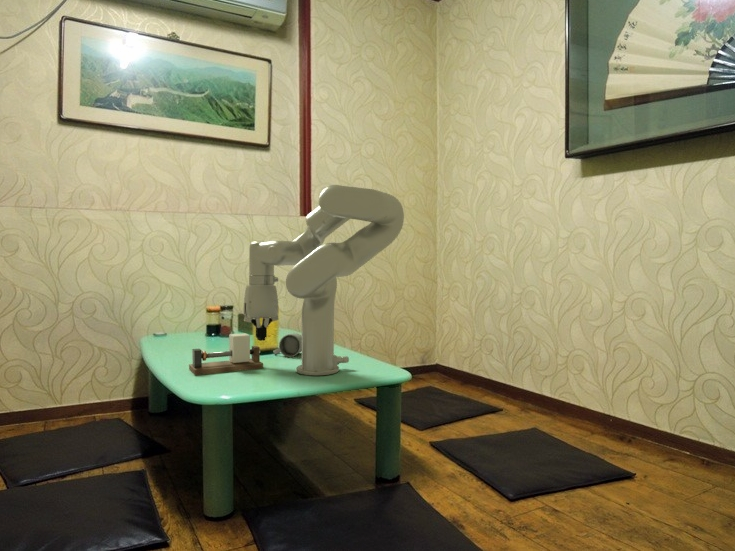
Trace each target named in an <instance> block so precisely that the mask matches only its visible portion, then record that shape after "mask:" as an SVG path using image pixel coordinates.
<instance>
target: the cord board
mask: <svg viewBox="0 0 735 551" xmlns="http://www.w3.org/2000/svg"><path fill="white" fill-rule="evenodd" d="M251 349H253V350H254V354H251V358H250V361H248V362H237V363H233V362H231V361H230V360H222V361H220V360H219V361H211V362H202V367H200V368H194V367H193V363H190V364H188V370H189V371H190V372H191V374H193V375H194V376H199V375H200V376H201V375H202V376H203V375H211V374H220V373H230V372H240V371H241V372H242V371H249V370H250V371H251V370H258V369H264V363H263V362H262V361H260V360H261V359H260V357H261V356H260V346H258V345H251Z"/></svg>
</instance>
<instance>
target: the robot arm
mask: <svg viewBox="0 0 735 551" xmlns="http://www.w3.org/2000/svg"><path fill="white" fill-rule="evenodd" d="M350 220H357V221H363V222H370V223H369V224H367V225H365V226H364V227H362V228H360V229H359V230H358V231H356V232H355V233H354V234H353V235H351V236H349V237H348V238H347V239H345V240H344V241H343V242H327V243H324V241H325V239H326V238H327V237H329V236H330V235H331V234H332V233H333V232H335V231H336V230H338V228H340V227H342V226H343V225H345V223H347V222H348V221H350ZM404 220H405V214H404V208H403V206H402V203H401V201H400V200H399V199H398V198H397V197H396V196H394V195H392V194H389V193H387V192H383V191H380V190H377V189H373V188H364V187H357V186H348V185H347V186H346V185H341V184H340V185H339V184H331V185H329V186H326V187H324V189H323V190H322V191H321V192H320V194H319V197H318V206H317V207H315V208H314V209H313V210H312V211H311V212H309V213H307V215H306V217H305V223H306V225H307V227H306V229H305V231H303V233H302V234H300V235H299V236H297V237H296V238H295V239H294V240H271V241H263V240H262V241H261V240H260V241H256V240H255V241H252V242H250V243H249V247H248V248H249V250H248V251H249V252H248V253H249V254H248V255H249V256H248V257H249V261H248V262H249V263H248V266H249V270H248V272H249V273H248V275H249V276H248V282H249V283H248V285H246V287H245V290H244V298H243V299H244V300H243V312H242V313H243V316H244V318H243V321H244V322H247V323H251V324H252V325H253V326H254V327H255V337H256V338H257V341H260V342H261V341H266V338H267V337H268V336H267V334H268V333H267V331H268V330H267V328H268V327H269V325H271V323H272V322H275V321H278V320H279V298H278V289H277V286H276V284H275V283H276V282H279V277H277V276H275V274H274V273H275V266H278V267H279V266H283V267H284V266H293V267H292V268H290V270H289V272H287V275H286V279H285V287H286V290H287V291H288V292H289V294H290V295H291V296H292V297H295V298H296V299H303V302H302V308H301V336H302V351H301V364H300V365H298V366H297V367H296V368H295V371H296V373H298V374H301V375H303V376H304V375H305V376H329V375H333V374H336V373H339V372H340V367H339V365H340V364H349V362H350V358H349V356H348V355H346V356H337V355H336V354H335V302H336V301H335V300H336V295H337V294H336V292H337V286H338V280H337V278H342V277H343V278H344V277H348V276H350V275H352V274H354V273H356V272H357V271H358V270H359V269H360V268H361V267H363V266H364V265H366V264H367V263H368V262H369V261H371V260H372V259H373V258H374V257H375V256H377V255H378V254H380V253H381V252H382V251H384V250H385V249H386V248H387V247H389V246H390V245H391V244H392V243H394V241H395V240H396V238H397V237H398V236H399V235H400V234H401V231H402V229H403V226H404ZM323 243H324V244H323ZM261 319H262V320H261Z"/></svg>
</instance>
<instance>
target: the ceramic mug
mask: <svg viewBox="0 0 735 551" xmlns="http://www.w3.org/2000/svg"><path fill="white" fill-rule="evenodd" d="M272 351H273V352H272V353H273V354H274V355H278V354H280V353H281V354H282V355H283V356H285V357H287V358H292V357H295V356H297V355H299V354H300V353H302V334H300V333H298V332H297V333H296V332H293V333H288V334H285V335H283V336H282V338H281V339H280V340H279V343H278V348H275V349H274V350H272Z"/></svg>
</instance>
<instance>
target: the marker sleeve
mask: <svg viewBox="0 0 735 551" xmlns="http://www.w3.org/2000/svg"><path fill="white" fill-rule="evenodd" d="M228 336H229V338H228V339H229V342H228V344H229V345H228V347H229V348H228V351H232V356H228V359H229V360H228V361H231V362H233V363H237V362H248V361H250V359H251V354H250V349H251V335H249V334H248V333H245V332H244V333H230V334H229V335H228Z"/></svg>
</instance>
